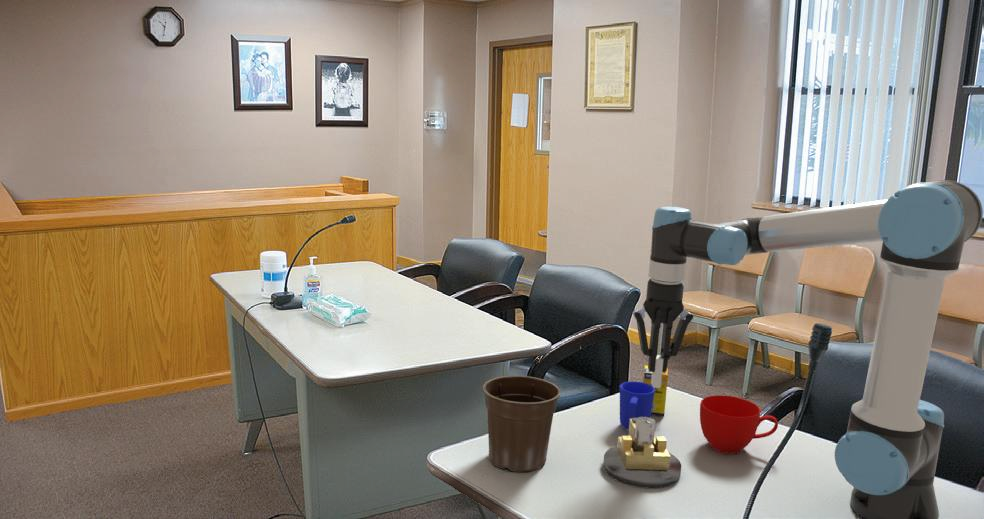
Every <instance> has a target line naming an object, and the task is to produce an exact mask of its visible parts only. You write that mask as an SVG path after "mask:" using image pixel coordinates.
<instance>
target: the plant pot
mask: <svg viewBox="0 0 984 519" xmlns="http://www.w3.org/2000/svg"><path fill="white" fill-rule="evenodd" d="M482 391H483V393H484V396H485V397H484V398H485V407H486V410H487V411H486V412H487V429H488V430H487V431H488V434H487V435H488V436H487V437H488V458H489V460H490V462H491V463H492V464H493V465H494V466H496V467H497V468H499V469H502V470H505V469H509V470H510V471H511V472H517V473H519V472H520V473H521V472H522V473H524V472H525V473H527V472H532V471H535V470H539V469H540V468H543V466H544V464H545V463H546V462H547V455H548V450H549V449H548V448H549V443H550V435H551V430H552V425H553V424H552V423H553V420H554V413H555V412H556V409H557V403H558V400H559V398H560V397H561V393H562V392H561V389H560V388H559V386H558V385H556V384H554V383H553V382H550V381H548V380H546V379H542V378H538V377H534V376H528V375H527V376H525V375H505V376H498V377H494V378H491V379H489V380H486V382H484V384H483V386H482Z"/></svg>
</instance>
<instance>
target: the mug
mask: <svg viewBox="0 0 984 519" xmlns="http://www.w3.org/2000/svg"><path fill="white" fill-rule="evenodd" d="M654 394H655V388H654V387H653V386H651V385H649V384H646V383H643V381H634V380H633V381H626V382H622V383H620V384H619V424H620V426H621V427H622V428H623V429H625V430H627V431H629V421H630V419H632V418H638V417H649V418H652V415H651V411H652V405H653V400H654Z"/></svg>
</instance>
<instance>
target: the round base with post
mask: <svg viewBox="0 0 984 519" xmlns="http://www.w3.org/2000/svg"><path fill="white" fill-rule="evenodd" d="M655 432H656V420H655V419H654V418H652V417H650V418H649V417H638V418H637V419H636V426H635V438H634V450H633V452H642V444H652V445H654V437H655ZM668 453H669V455H670V466H669V470H650V469H625V467H624V464H623V462H622V460H621V457H620V455H619V453H618V451H617V445H616V446H613V447H610V448H609V449H607V450H606V451H605V452H604V455H603V466H602V467H603V470H604V471H605V473H606V474H607V475H608V476H609V477H611V478H612V479H614V480H615V481H618V482H620V483H622V484H625V485H627V486H628V485H629V486H631V487H634V488H635V487H636V488H641V489H642V488H644V489H660V488H666V487H667V488H668V487H670V486H672V485H674V484H676V483H678V481H679V480H680V479H681V473H682V463H681V461H680V460H679V459H678V457H677V456H675V455H674V454H672V453H671V452H669V451H668Z"/></svg>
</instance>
